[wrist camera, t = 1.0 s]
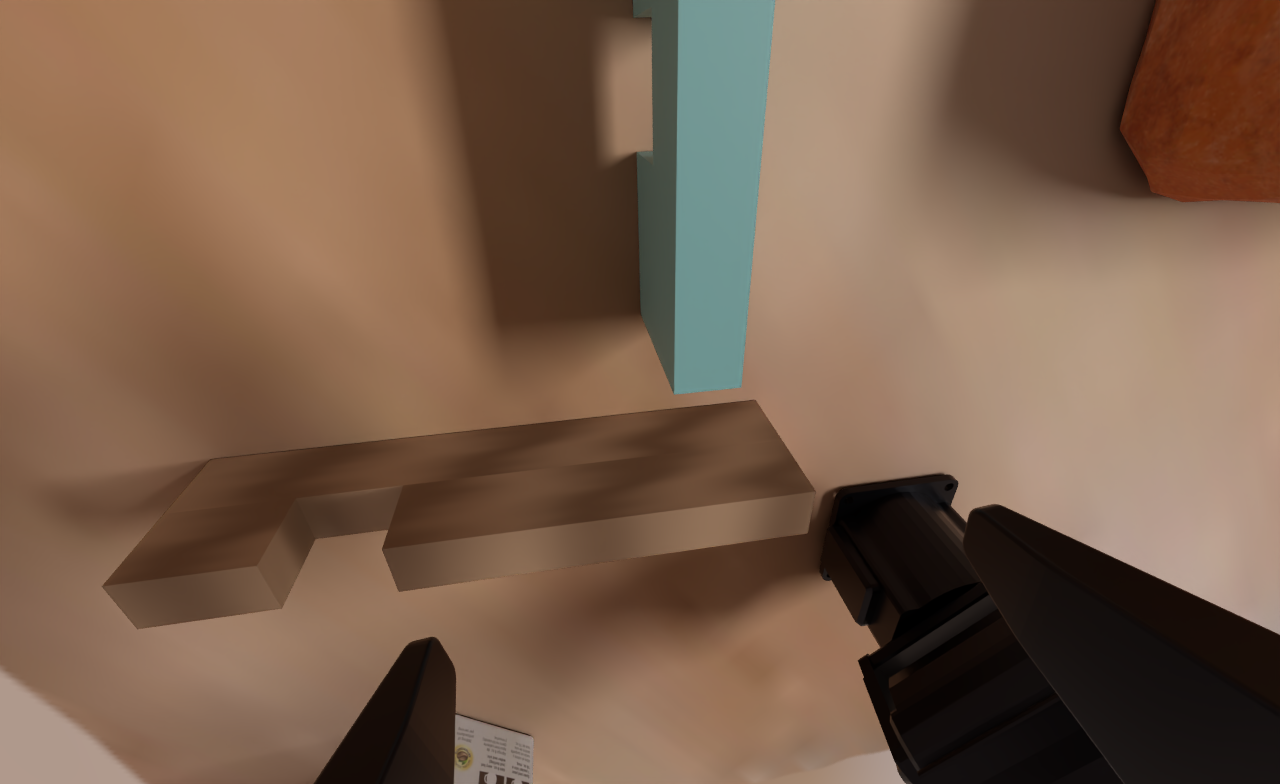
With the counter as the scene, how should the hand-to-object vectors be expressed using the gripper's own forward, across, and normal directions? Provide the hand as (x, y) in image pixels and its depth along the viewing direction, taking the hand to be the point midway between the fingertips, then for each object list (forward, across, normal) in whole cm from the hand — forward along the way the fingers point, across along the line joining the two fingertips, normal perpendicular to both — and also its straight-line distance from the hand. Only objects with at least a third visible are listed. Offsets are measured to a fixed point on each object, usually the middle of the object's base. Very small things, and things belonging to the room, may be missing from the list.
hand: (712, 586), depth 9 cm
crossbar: (+13, -3, -7) cm, 15 cm away
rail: (+13, +6, +5) cm, 15 cm away
